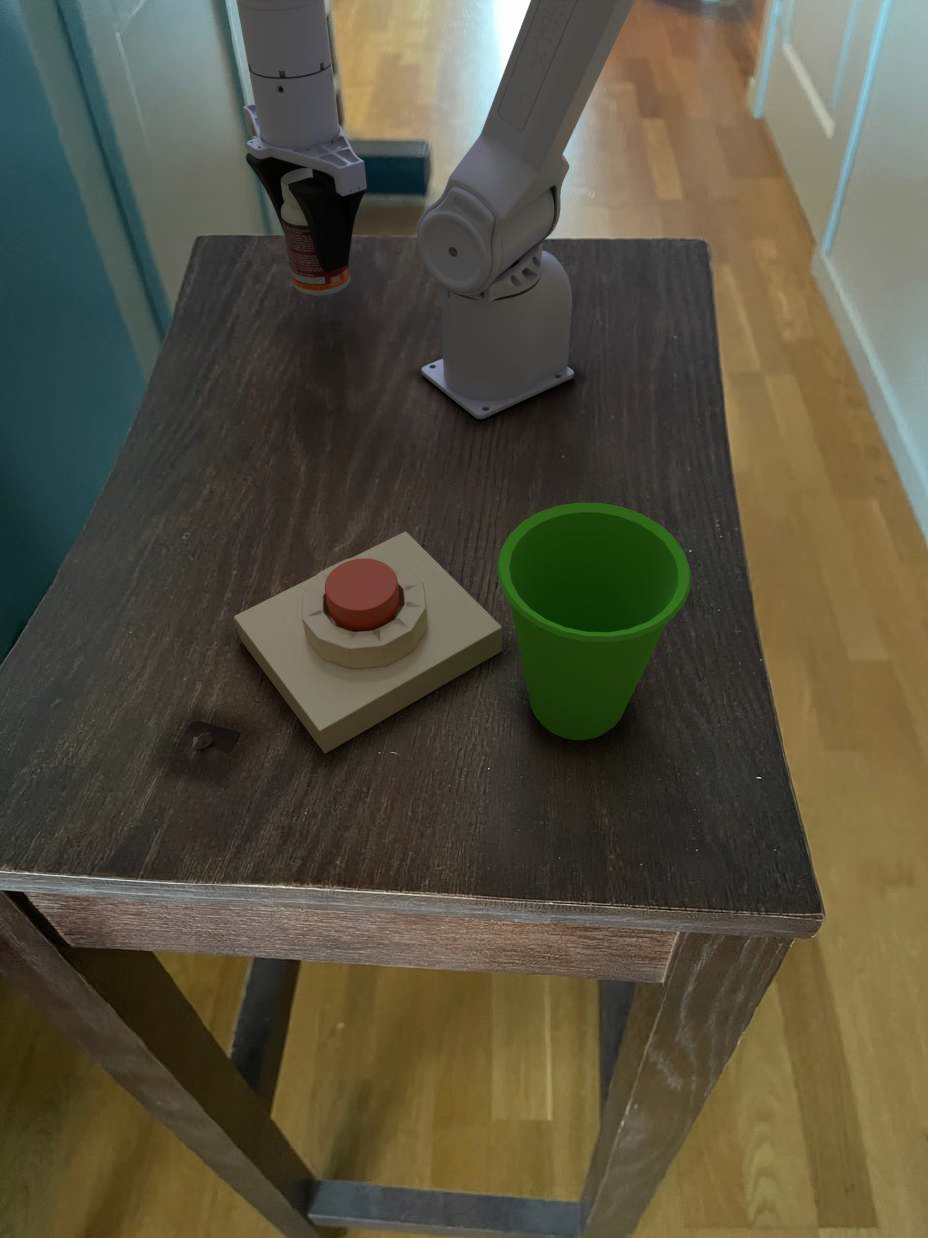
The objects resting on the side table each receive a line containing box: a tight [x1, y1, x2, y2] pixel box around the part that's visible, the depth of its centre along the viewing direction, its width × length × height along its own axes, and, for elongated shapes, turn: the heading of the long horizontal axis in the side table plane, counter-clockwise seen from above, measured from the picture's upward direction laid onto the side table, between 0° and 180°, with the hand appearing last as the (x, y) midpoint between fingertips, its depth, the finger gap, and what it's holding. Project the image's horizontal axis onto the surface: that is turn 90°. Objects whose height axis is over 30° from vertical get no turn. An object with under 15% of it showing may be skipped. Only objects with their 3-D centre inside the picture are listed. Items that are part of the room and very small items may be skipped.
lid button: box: [325, 558, 400, 631], centre depth 51 cm, size 4×4×2 cm
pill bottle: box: [281, 168, 351, 297], centre depth 72 cm, size 5×5×8 cm
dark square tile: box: [183, 720, 241, 755], centre depth 49 cm, size 3×3×1 cm
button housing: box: [233, 530, 503, 754], centre depth 53 cm, size 12×10×4 cm
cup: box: [496, 502, 692, 741], centre depth 47 cm, size 9×9×11 cm
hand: (318, 253), depth 73 cm, fingers closed on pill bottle, 5 cm apart
